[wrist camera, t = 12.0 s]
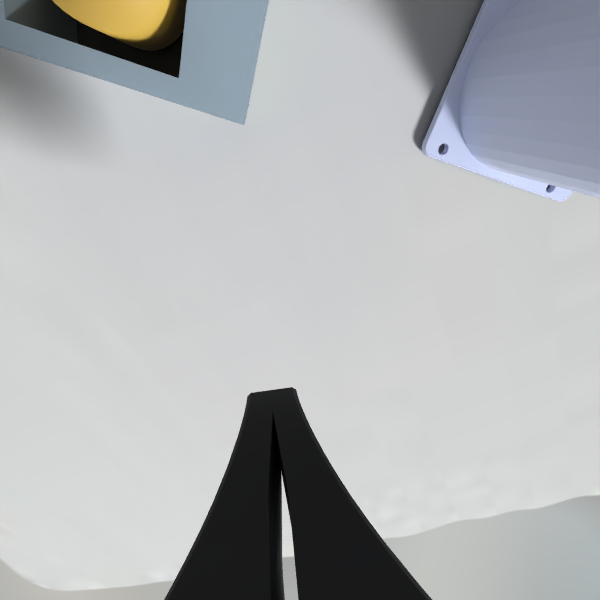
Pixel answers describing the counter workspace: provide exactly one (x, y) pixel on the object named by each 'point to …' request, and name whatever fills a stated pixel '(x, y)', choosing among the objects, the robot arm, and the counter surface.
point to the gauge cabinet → (184, 90)
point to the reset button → (131, 19)
